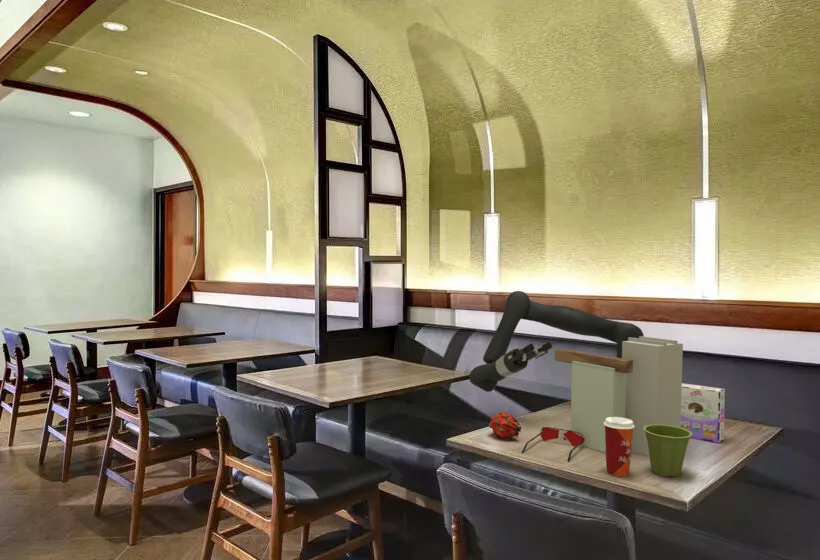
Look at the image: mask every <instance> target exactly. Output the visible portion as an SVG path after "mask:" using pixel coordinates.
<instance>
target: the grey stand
mask: <svg viewBox="0 0 820 560" xmlns="http://www.w3.org/2000/svg"><path fill="white" fill-rule="evenodd" d="M683 348H684V344H683V343H681V342H678V340H675V339H673V340H672V339H666V338H658V337H650V336H649V337H648V336H644V337H642V336H639V338H631V337H629V338H628V341H622V358H623V359H629V360H633V372H631V373H626V406H625V418H627V419H630V420H632V421H633V425H634V426H635V427H634V428H633V436H632V448H631V452H633V453H636V454H641V455H643V456H646V457H649V458H650V456H649V448H648V441H647V438H646V432H645V431H644V429H643V428H644V426H647V425H656V424H658V425H670V426H675V427H680V428H681V394H682V383H683V353H684V350H683Z"/></svg>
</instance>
